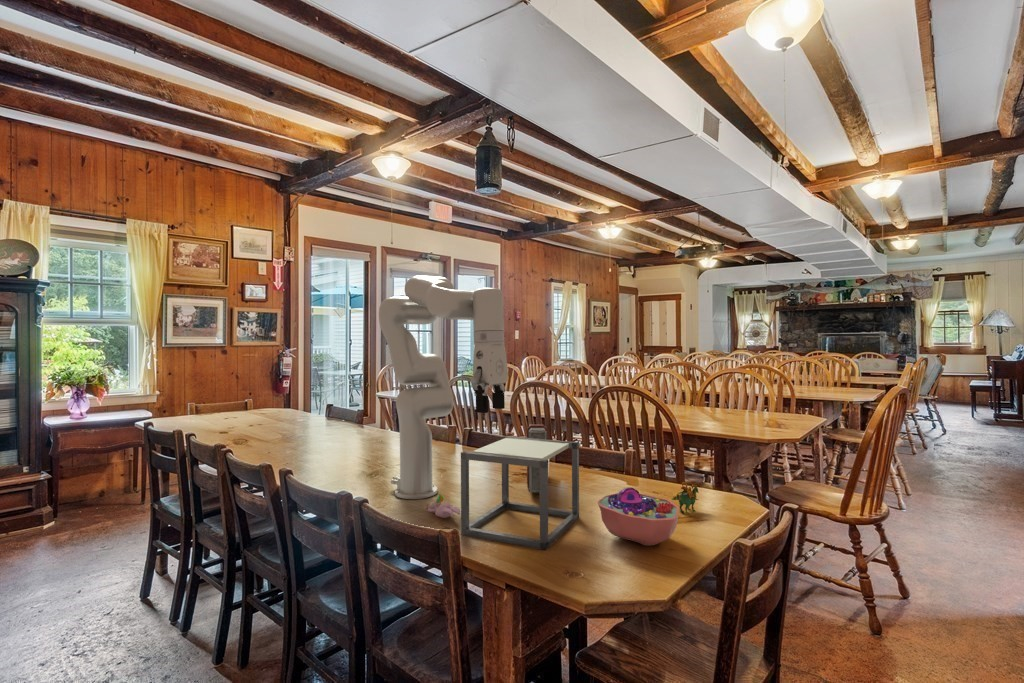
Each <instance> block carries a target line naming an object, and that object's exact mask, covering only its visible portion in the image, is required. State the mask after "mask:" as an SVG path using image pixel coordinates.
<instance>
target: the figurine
mask: <svg viewBox="0 0 1024 683" xmlns="http://www.w3.org/2000/svg"><path fill="white" fill-rule="evenodd" d="M684 485H685V486H684ZM680 489H681V490H682V491H679V492H678V493H677V494H675V495H674V496H673V497H672V498H671V500H672V501H678V503H679V513H684V514H685V515H687V514H688V515H690V512H688V510H689V511H690V510H692V511H693V512H696V510H695V509H694V508H695V507H694V505H695V504H696V501H699V499H698V498H697V494H698V493H699V488H698V485H697V484H693V483H692V485H691V486H689V487H688V484H687V482H684V481H683V482H681V487H680ZM683 506H685V508H684V510H685V511H684V510H683V508H682V507H683ZM690 506H691V508H690Z"/></svg>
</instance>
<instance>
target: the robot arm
mask: <svg viewBox="0 0 1024 683" xmlns="http://www.w3.org/2000/svg"><path fill="white" fill-rule="evenodd" d="M404 293H405V296H392V297H388V298H384V300H382V301H381V303H380V306H379V308H378V322H379V328H380V329H381V332H382V335H383V337H384V338H385V341H386V343H387V346H388V349H389V354H390V359H391V364H392V368H393V373H394V378H395V379H396V381H397V383H398V384H400V385H402V386H416V387H409V388H405V389H403V390H401V391H400V392H399V393H398V395H397V397H396V399H395V407H396V412H397V418H398V427H399V429H398V430H399V476H396V475H393V476H392V479H391V480H390V484H391V485H396V486H397V487H396V488H395V490H394V495H395V496H396V497H397V498H399V499H406V500H419V499H420V500H421V499H426V498H431V497H434V496H435V495H437V494H438V489H439V488H438V487H437V486H436V485H435V484H434V485H433V434H432V430H431V428H430V426H429V425H428V423H427V422H426V420H428V419H432V418H433V419H434V418H439V417H440V418H442V417H446V416H448V415H450V413H452V411H453V408H454V396H453V391H452V387H451V383H450V379H449V375H448V370H447V366H446V364H445V362H444V360H443V359H442V358H441V357H440V356H439V355H438V354H435V353H421V352H420V351H419V348H418V344H417V341H416V338H415V336H414V335H413V334H412V332H411V331H410V330H408V328H406V327H405V325H429V324H432V323H434V322H435V321H436V320H438V318H441V319H444V320H458V321H459V320H460V321H461V320H462V321H464V320H468V321H473V322H472V323H473V324H472V326H473V345H474V346H473V357H472V358H473V359H472V377H471V379H470V383H471V386H472V390H473V392H474V393H473V394H474V396H475V413H477V414H478V413H479V414H482V413H484V414H487V413H489V406H490V405H489V395H487V394H488V391H489V386H491V387H492V390H493V392H491V396H492V397H491V398H492V400H491V402H492V409H495V410H503V409H505V408H506V406H505V403H506V402H505V393H506V385H507V382H508V381H509V372H508V371H509V369H508V359H507V351H506V347H505V322H504V321H505V319H504V317H505V316H504V313H505V312H504V293H503V291H502V290H501V289H499V288H497V287H482V288H481V287H480V288H477V289H475V290H466V289H455V288H454V285H453V283H452V282H451V280H450V279H448V278H446V277H444V276H437V275H436V276H434V275H423V274H421V275H420V274H419V275H413V276H411V277H409V279H407V281H406V283H405V284H404ZM418 385H427V386H420V387H419V386H418ZM417 386H418V387H417Z"/></svg>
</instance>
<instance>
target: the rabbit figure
mask: <svg viewBox="0 0 1024 683" xmlns="http://www.w3.org/2000/svg"><path fill="white" fill-rule="evenodd" d="M443 500H444V496H443V495H442V494H440V493H439V494H438V497H437V499H436V501H435V502H432V503H430V504H429V503H428V504H426V507H425V510H426V511H427V512H429V513H431V514H435V516H436V517H439V518H442V519H447V518H449V517H450V516H455V513H456V514H457V515H461V508H460V507H458V506H454V505H452V504H451V503H449V502H443Z"/></svg>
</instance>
